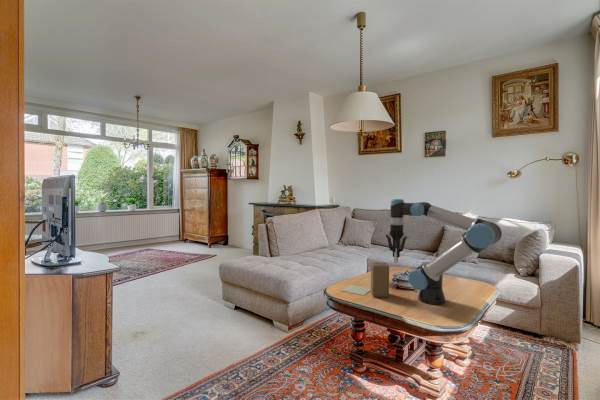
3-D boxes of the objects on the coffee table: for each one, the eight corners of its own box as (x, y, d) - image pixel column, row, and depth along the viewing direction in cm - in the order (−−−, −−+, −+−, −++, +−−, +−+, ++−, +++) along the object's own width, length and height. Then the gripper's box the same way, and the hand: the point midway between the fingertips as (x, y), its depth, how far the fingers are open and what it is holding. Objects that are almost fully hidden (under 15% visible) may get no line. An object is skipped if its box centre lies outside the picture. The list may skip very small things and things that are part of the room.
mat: (372, 289, 210) (372, 289, 210) (363, 295, 199) (363, 295, 199) (350, 285, 220) (350, 284, 220) (341, 290, 208) (341, 290, 208)
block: (386, 292, 204) (386, 262, 203) (389, 298, 194) (389, 266, 193) (370, 292, 205) (371, 262, 204) (372, 297, 195) (373, 265, 194)
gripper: (409, 224, 191) (408, 262, 192) (388, 222, 199) (388, 259, 200) (405, 225, 185) (404, 265, 186) (384, 224, 193) (383, 262, 194)
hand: (396, 262), depth 193 cm, fingers closed
